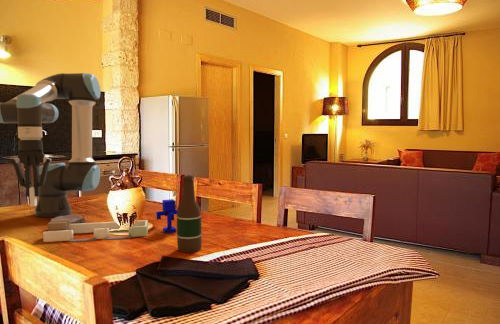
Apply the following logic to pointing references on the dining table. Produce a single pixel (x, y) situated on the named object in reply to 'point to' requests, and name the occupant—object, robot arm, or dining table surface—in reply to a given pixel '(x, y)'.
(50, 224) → the block
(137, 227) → the lane
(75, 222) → the stone
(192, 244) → the beer bottle
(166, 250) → the dining table surface
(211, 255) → the dining table surface
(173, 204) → the figurine
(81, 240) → the grey thin bar
